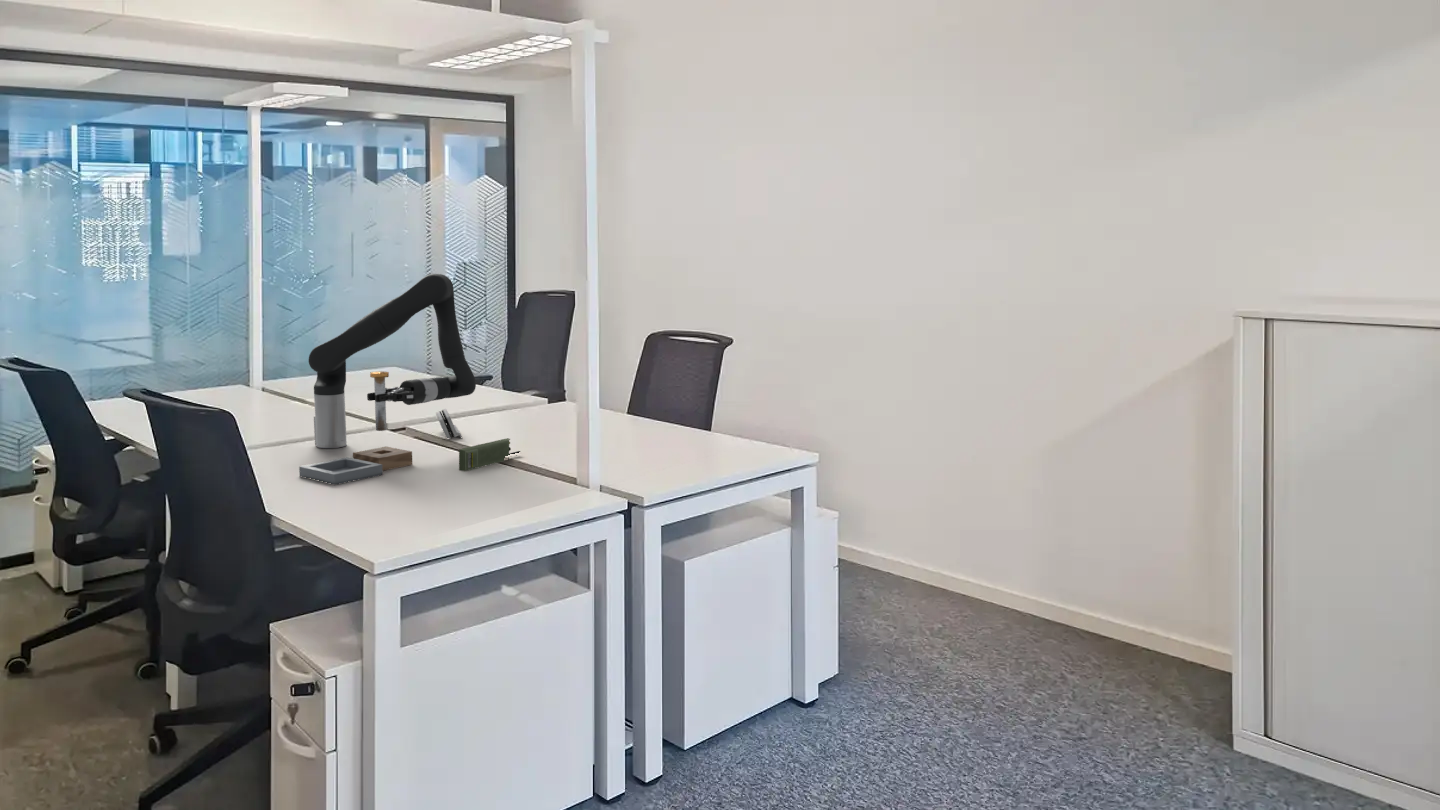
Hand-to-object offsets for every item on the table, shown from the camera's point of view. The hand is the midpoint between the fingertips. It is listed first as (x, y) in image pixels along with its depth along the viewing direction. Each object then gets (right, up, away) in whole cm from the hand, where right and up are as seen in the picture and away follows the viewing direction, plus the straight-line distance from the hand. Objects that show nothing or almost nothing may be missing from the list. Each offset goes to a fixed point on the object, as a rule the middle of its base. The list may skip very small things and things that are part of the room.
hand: (372, 397), depth 314 cm
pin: (+1, -10, +4) cm, 10 cm away
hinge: (+9, -13, +54) cm, 56 cm away
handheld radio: (+33, -20, +11) cm, 40 cm away
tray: (-6, -22, -8) cm, 25 cm away
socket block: (+1, -20, +6) cm, 21 cm away
